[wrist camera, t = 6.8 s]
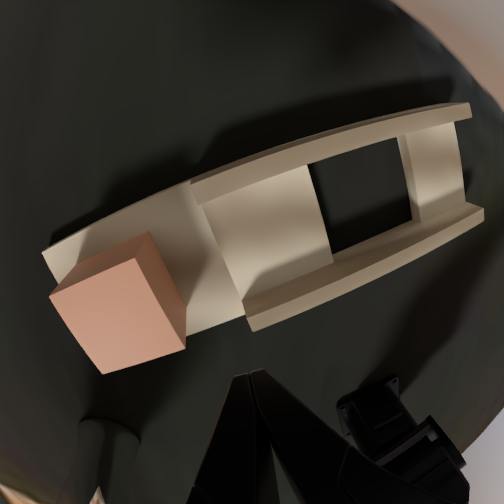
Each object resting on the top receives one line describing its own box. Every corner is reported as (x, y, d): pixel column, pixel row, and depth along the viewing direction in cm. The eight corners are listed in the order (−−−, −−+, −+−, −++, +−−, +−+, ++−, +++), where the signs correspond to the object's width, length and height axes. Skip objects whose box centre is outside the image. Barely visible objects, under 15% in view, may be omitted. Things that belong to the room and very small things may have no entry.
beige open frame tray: (457, 210, 20) (484, 220, 17) (112, 352, 19) (104, 381, 16) (440, 103, 16) (469, 102, 14) (48, 247, 16) (26, 265, 13)
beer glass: (75, 404, 20) (41, 555, 6) (150, 428, 22) (149, 583, 8) (74, 441, 22) (52, 564, 8) (138, 461, 24) (136, 586, 10)
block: (186, 306, 17) (185, 348, 14) (116, 332, 17) (102, 374, 13) (149, 230, 15) (134, 257, 12) (76, 264, 15) (48, 296, 12)
